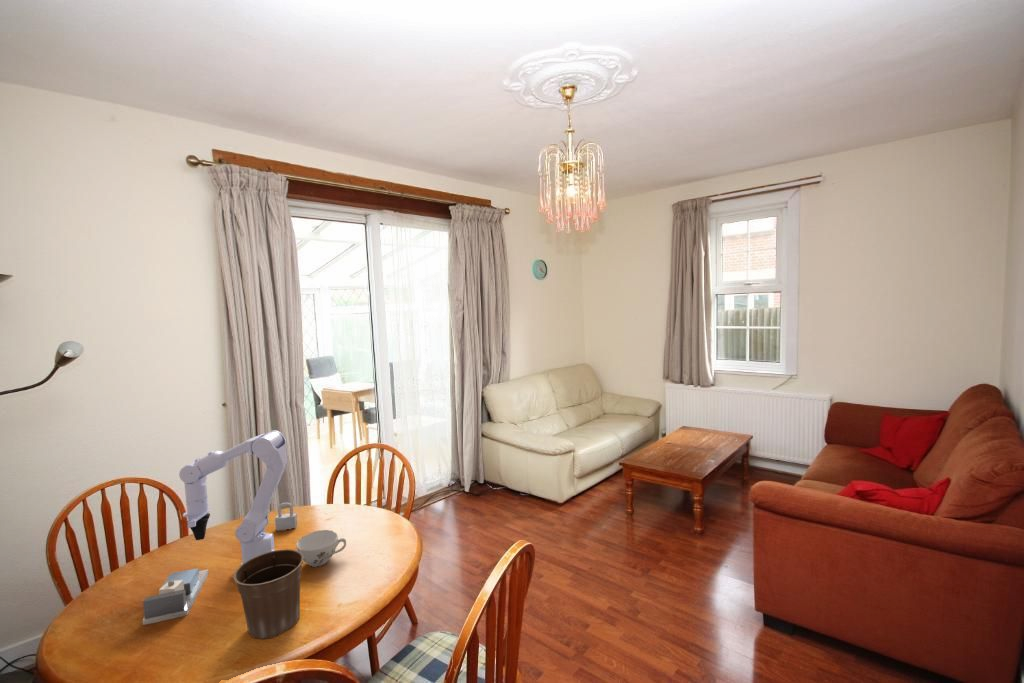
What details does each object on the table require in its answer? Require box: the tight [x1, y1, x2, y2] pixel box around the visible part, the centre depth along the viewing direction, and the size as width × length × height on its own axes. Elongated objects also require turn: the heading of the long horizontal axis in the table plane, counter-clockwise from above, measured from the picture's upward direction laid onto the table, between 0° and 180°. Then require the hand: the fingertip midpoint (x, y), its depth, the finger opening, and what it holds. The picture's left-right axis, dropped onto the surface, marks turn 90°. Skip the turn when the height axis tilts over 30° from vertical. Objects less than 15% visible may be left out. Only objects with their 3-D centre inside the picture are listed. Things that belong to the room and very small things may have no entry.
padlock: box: [274, 502, 298, 531], centre depth 173 cm, size 7×4×10 cm, turn 99°
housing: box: [158, 580, 184, 595], centre depth 128 cm, size 4×4×6 cm
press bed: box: [142, 568, 209, 626], centre depth 132 cm, size 10×21×6 cm, turn 20°
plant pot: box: [233, 548, 304, 640], centre depth 120 cm, size 16×16×16 cm
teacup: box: [295, 529, 347, 568], centre depth 149 cm, size 15×12×8 cm
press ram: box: [161, 567, 200, 593], centre depth 135 cm, size 7×8×3 cm
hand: (200, 538), depth 148 cm, fingers closed
